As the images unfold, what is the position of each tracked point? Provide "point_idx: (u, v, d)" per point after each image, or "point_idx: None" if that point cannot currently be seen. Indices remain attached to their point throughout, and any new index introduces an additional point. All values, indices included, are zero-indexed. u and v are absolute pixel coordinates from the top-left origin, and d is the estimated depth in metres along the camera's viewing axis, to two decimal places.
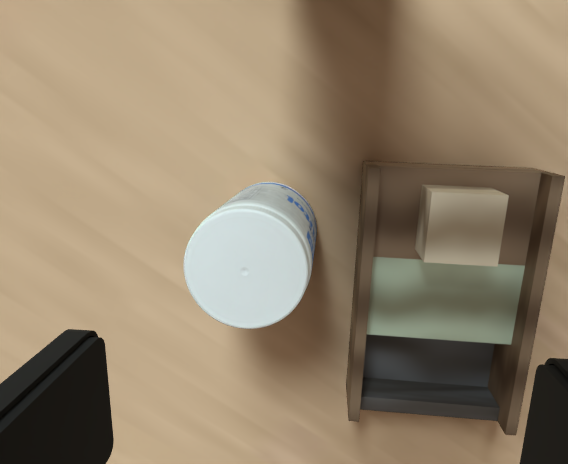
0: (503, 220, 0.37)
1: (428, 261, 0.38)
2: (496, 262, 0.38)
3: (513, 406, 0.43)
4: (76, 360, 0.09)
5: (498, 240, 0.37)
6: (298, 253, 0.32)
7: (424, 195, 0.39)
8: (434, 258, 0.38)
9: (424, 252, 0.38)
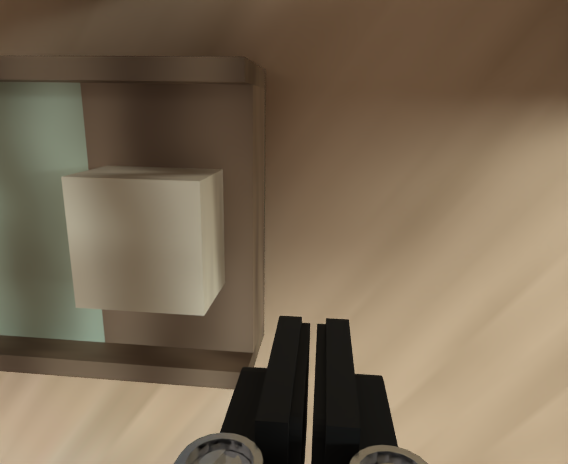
0: (159, 310, 0.20)
1: (64, 185, 0.19)
2: (82, 305, 0.21)
3: None
4: (308, 342, 0.09)
5: (121, 305, 0.20)
6: None
7: (200, 172, 0.21)
8: (71, 196, 0.19)
9: (82, 176, 0.19)
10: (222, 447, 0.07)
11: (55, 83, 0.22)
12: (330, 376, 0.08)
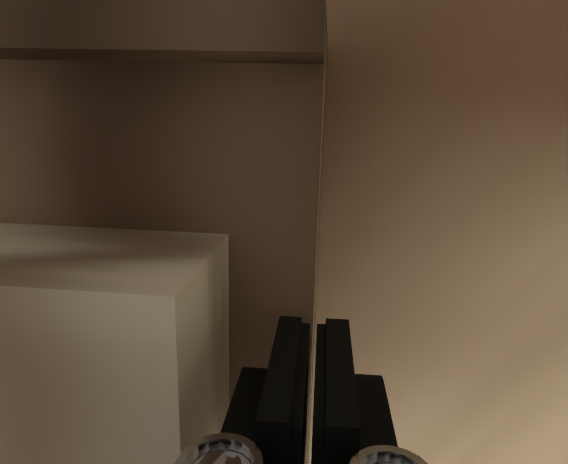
0: None
1: None
2: None
3: None
4: (308, 342, 0.09)
5: None
6: None
7: (180, 249, 0.10)
8: None
9: None
10: (222, 447, 0.07)
11: None
12: (330, 376, 0.08)
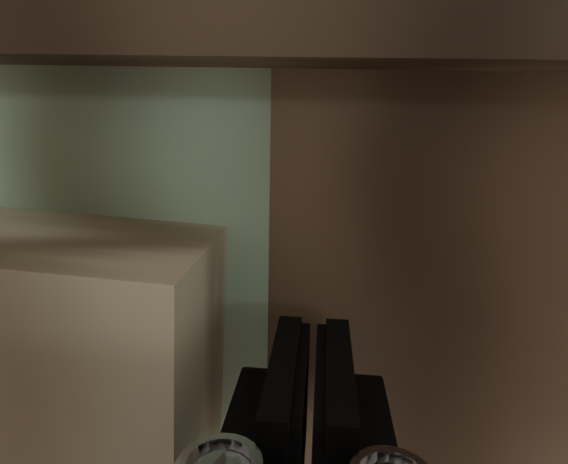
0: None
1: None
2: None
3: None
4: (308, 342, 0.09)
5: None
6: None
7: (179, 239, 0.10)
8: None
9: None
10: (222, 447, 0.07)
11: (214, 69, 0.10)
12: (330, 376, 0.08)
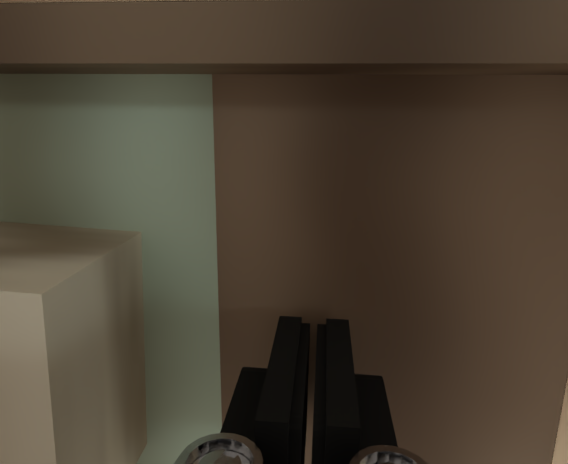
0: None
1: None
2: None
3: None
4: (308, 342, 0.09)
5: None
6: None
7: (80, 245, 0.10)
8: None
9: None
10: (222, 447, 0.07)
11: (155, 76, 0.10)
12: (330, 376, 0.08)
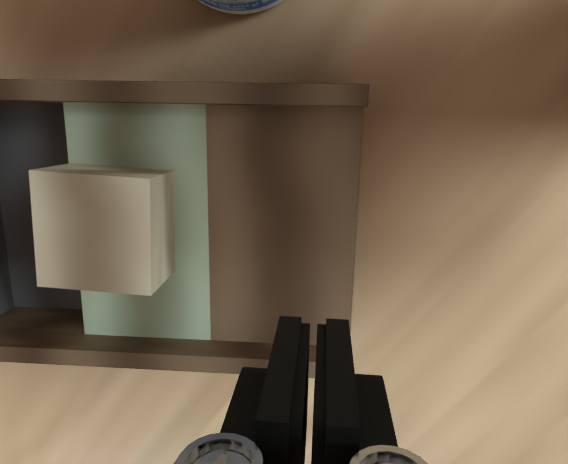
0: (111, 290, 0.23)
1: (31, 177, 0.22)
2: (43, 284, 0.23)
3: None
4: (308, 342, 0.09)
5: (78, 285, 0.23)
6: None
7: (153, 172, 0.24)
8: (37, 188, 0.22)
9: (47, 171, 0.22)
10: (222, 447, 0.07)
11: (182, 105, 0.25)
12: (330, 376, 0.08)
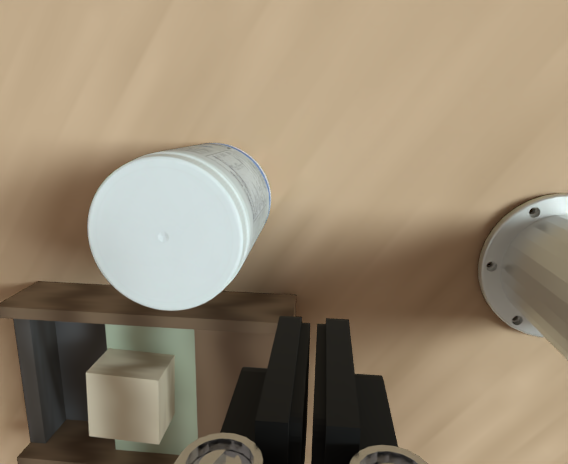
0: (134, 440, 0.38)
1: (87, 376, 0.36)
2: (93, 435, 0.38)
3: (49, 463, 0.41)
4: (308, 342, 0.09)
5: (114, 436, 0.38)
6: (193, 300, 0.27)
7: (160, 362, 0.38)
8: (90, 382, 0.37)
9: (96, 372, 0.37)
10: (222, 447, 0.07)
11: None
12: (330, 376, 0.08)
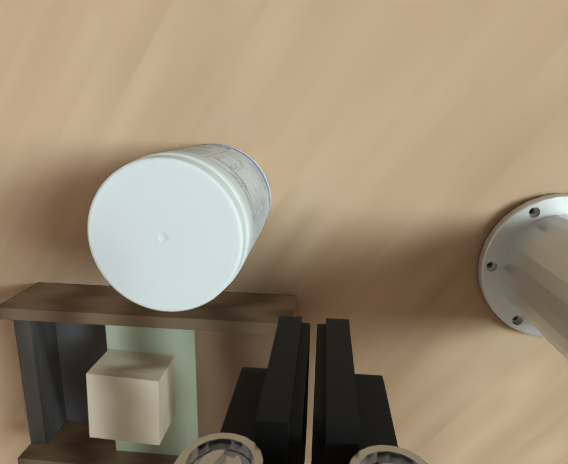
0: (135, 441, 0.38)
1: (87, 377, 0.36)
2: (93, 436, 0.38)
3: (50, 463, 0.41)
4: (308, 342, 0.09)
5: (115, 437, 0.38)
6: (193, 301, 0.27)
7: (161, 363, 0.38)
8: (91, 383, 0.37)
9: (97, 373, 0.37)
10: (222, 447, 0.07)
11: None
12: (330, 376, 0.08)
